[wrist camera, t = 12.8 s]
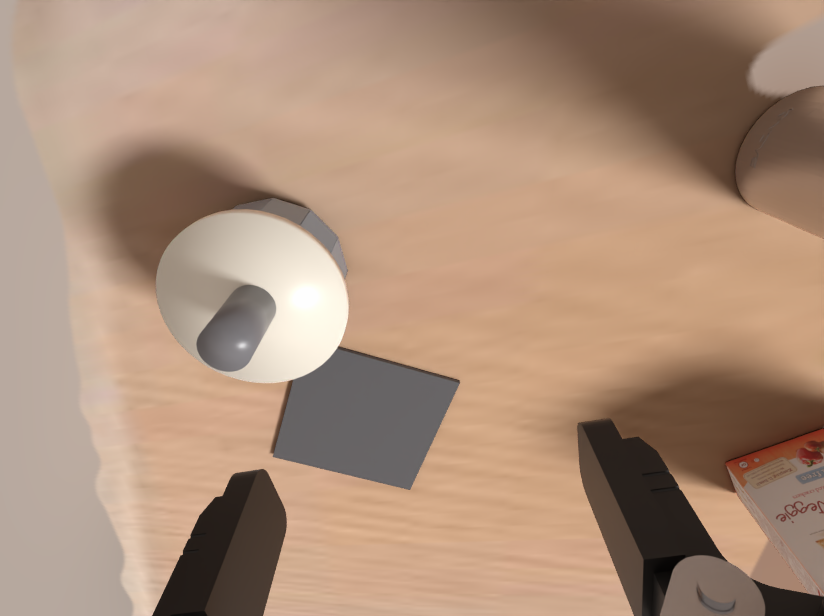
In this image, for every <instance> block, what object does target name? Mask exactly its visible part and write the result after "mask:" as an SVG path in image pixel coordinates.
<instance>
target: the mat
mask: <svg viewBox="0 0 824 616" xmlns="http://www.w3.org/2000/svg"><path fill="white" fill-rule="evenodd" d="M459 384H460V381H459V380H456V379H452V378H448V377H445V376H441V375H438V374H434V373H431V372H427V371H423V370H420V369H416V368H413V367H409V366H406V365H402V364H398V363H395V362H391V361H388V360H384V359H380V358H377V357H373V356H370V355H366V354H363V353H359V352H355V351H352V350H348V349H345V348H341V347H337V349H336V350H335V352H334V353H333V354H332V355H331V357H330V358H329V359H328V360H327V361H326V362H325V363H324V364H323V365H321V366H320V367H318V368H317V369H315V370H314V371H312V372H310V373H308V374H306V375H304V376H302V377H299V378H296V379H293V383H292V387H291V391H290V394H289V398H288V402H287V406H286V410H285V413H284V417H283V421H282V425H281V428H280V432H279V436H278V440H277V443H276V447H275V451H274V455H273V457H275V458H280V459H284V460H288V461H292V462H296V463H300V464H305V465H309V466H313V467H317V468H321V469H325V470H329V471H334V472H338V473H342V474H346V475H350V476H354V477H358V478H363V479H367V480H371V481H375V482H379V483H383V484H388V485H392V486H396V487H400V488H404V489H408V490H410V489H411V487H412V484H413V482H414V480H415V478H416V476H417V474H418V472H419V469H420V467H421V465H422V463H423V461H424V459H425V457H426V454H427V452H428V450H429V448H430V446H431V444H432V442H433V439H434V437H435V435H436V433H437V431H438V429H439V427H440V424H441V422H442V420H443V418H444V416H445V414H446V412H447V409H448V407H449V405H450V403H451V401H452V399H453V397H454V394H455V392H456V390H457V388H458V386H459Z"/></svg>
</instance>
